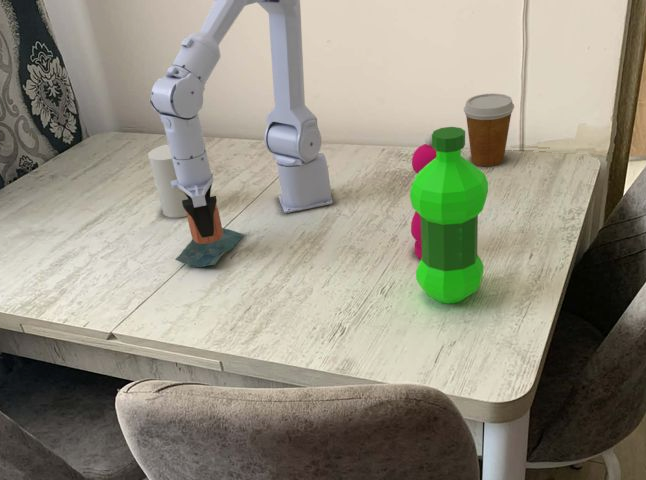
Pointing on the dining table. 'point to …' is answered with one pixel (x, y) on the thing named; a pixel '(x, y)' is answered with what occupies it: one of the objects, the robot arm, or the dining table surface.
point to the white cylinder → (166, 182)
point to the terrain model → (209, 250)
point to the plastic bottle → (449, 219)
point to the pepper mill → (418, 163)
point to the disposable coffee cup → (488, 127)
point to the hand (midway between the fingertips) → (206, 227)
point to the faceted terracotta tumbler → (217, 235)
